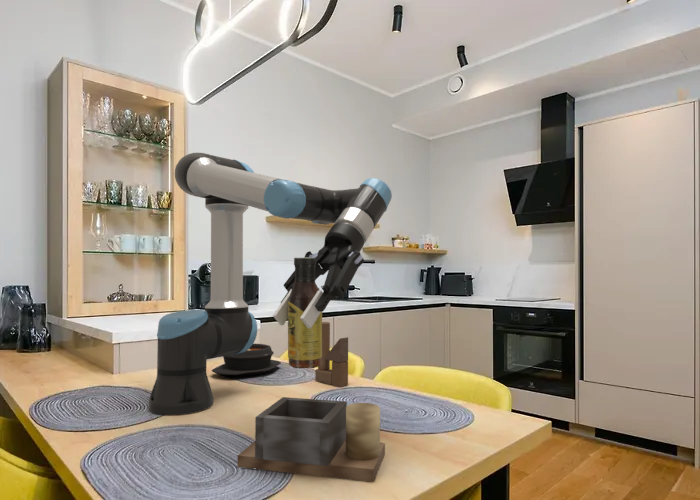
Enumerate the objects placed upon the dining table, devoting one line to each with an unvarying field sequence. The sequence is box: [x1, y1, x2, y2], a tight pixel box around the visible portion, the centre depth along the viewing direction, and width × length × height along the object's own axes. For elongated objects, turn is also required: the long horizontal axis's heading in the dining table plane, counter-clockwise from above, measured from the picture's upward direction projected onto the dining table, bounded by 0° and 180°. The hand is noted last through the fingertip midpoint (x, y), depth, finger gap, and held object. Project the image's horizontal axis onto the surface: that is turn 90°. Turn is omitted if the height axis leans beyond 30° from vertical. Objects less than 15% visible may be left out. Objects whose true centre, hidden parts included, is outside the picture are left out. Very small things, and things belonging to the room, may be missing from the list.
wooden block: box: [314, 321, 349, 388], centre depth 143 cm, size 4×11×18 cm, turn 47°
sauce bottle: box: [287, 257, 323, 369], centre depth 87 cm, size 6×6×20 cm
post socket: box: [236, 396, 386, 483], centre depth 86 cm, size 24×13×10 cm, turn 77°
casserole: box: [211, 343, 282, 376], centre depth 158 cm, size 25×19×8 cm
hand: (291, 321), depth 84 cm, fingers closed on sauce bottle, 6 cm apart
